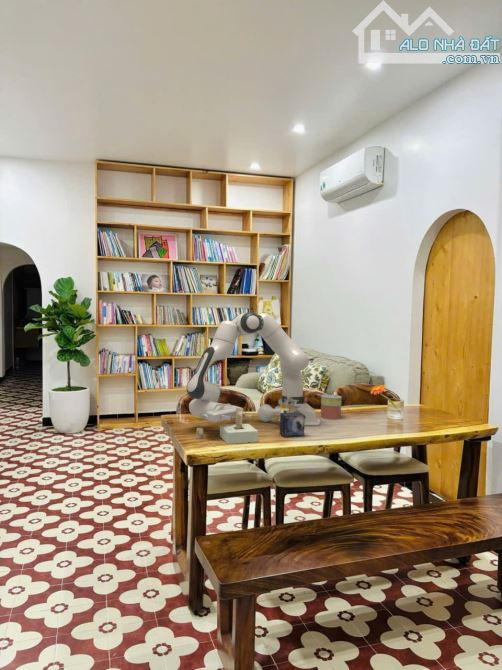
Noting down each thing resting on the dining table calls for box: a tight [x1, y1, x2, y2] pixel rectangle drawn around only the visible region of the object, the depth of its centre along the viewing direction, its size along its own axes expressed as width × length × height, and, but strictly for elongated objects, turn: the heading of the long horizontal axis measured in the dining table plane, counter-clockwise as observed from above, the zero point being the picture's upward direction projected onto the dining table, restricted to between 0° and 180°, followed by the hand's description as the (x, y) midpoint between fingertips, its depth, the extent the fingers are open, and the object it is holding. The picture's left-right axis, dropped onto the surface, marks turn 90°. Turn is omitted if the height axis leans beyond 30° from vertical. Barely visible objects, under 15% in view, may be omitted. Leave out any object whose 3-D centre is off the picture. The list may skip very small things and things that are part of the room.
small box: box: [278, 412, 305, 438], centre depth 229 cm, size 11×6×10 cm, turn 106°
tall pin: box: [235, 407, 243, 430], centre depth 221 cm, size 3×3×14 cm
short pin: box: [195, 427, 204, 440], centre depth 220 cm, size 3×3×4 cm
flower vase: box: [257, 394, 300, 423], centre depth 250 cm, size 13×18×25 cm
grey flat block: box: [219, 423, 259, 445], centre depth 221 cm, size 14×14×5 cm
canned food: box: [320, 394, 343, 421], centre depth 269 cm, size 11×11×12 cm
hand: (237, 416), depth 221 cm, fingers open, 8 cm apart
